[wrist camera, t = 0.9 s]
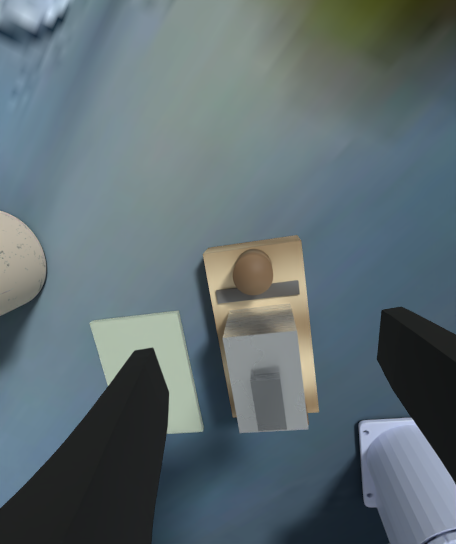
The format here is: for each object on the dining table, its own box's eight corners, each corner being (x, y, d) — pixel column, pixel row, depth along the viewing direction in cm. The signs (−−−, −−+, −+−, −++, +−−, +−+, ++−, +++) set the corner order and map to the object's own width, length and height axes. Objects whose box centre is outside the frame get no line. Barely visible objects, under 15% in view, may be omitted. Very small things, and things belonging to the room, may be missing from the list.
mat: (203, 427, 29) (202, 431, 29) (125, 432, 30) (122, 436, 30) (178, 310, 26) (177, 312, 26) (92, 320, 27) (89, 322, 27)
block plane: (313, 392, 27) (325, 436, 22) (235, 398, 28) (229, 441, 23) (297, 235, 24) (306, 247, 19) (208, 247, 25) (195, 262, 20)
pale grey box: (299, 386, 24) (310, 437, 19) (243, 390, 25) (239, 441, 20) (290, 303, 23) (298, 336, 18) (229, 310, 23) (221, 343, 18)
